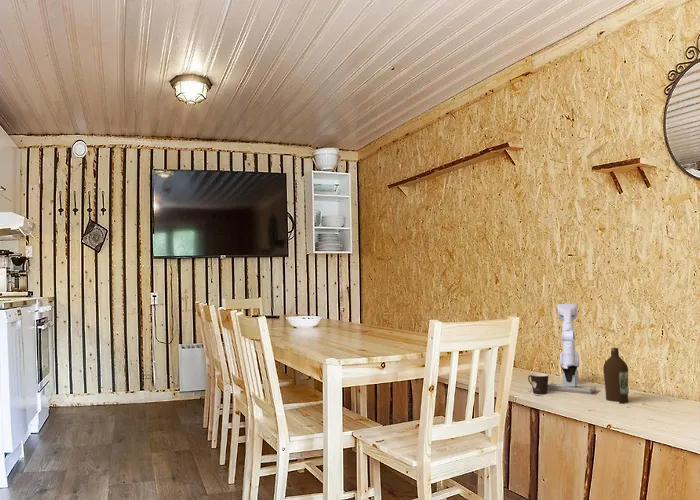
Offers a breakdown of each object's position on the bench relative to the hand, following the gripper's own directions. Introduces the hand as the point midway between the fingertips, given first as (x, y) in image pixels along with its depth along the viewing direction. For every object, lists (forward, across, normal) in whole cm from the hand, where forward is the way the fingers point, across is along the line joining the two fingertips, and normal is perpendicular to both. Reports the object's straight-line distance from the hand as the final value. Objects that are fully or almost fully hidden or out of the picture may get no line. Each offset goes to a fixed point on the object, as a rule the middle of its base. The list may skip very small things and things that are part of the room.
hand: (570, 380), depth 287 cm
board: (+6, -1, 0) cm, 6 cm away
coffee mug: (+6, +12, -12) cm, 18 cm away
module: (+2, 0, 0) cm, 2 cm away
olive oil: (+6, +10, +24) cm, 27 cm away
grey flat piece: (+5, -1, 0) cm, 5 cm away
